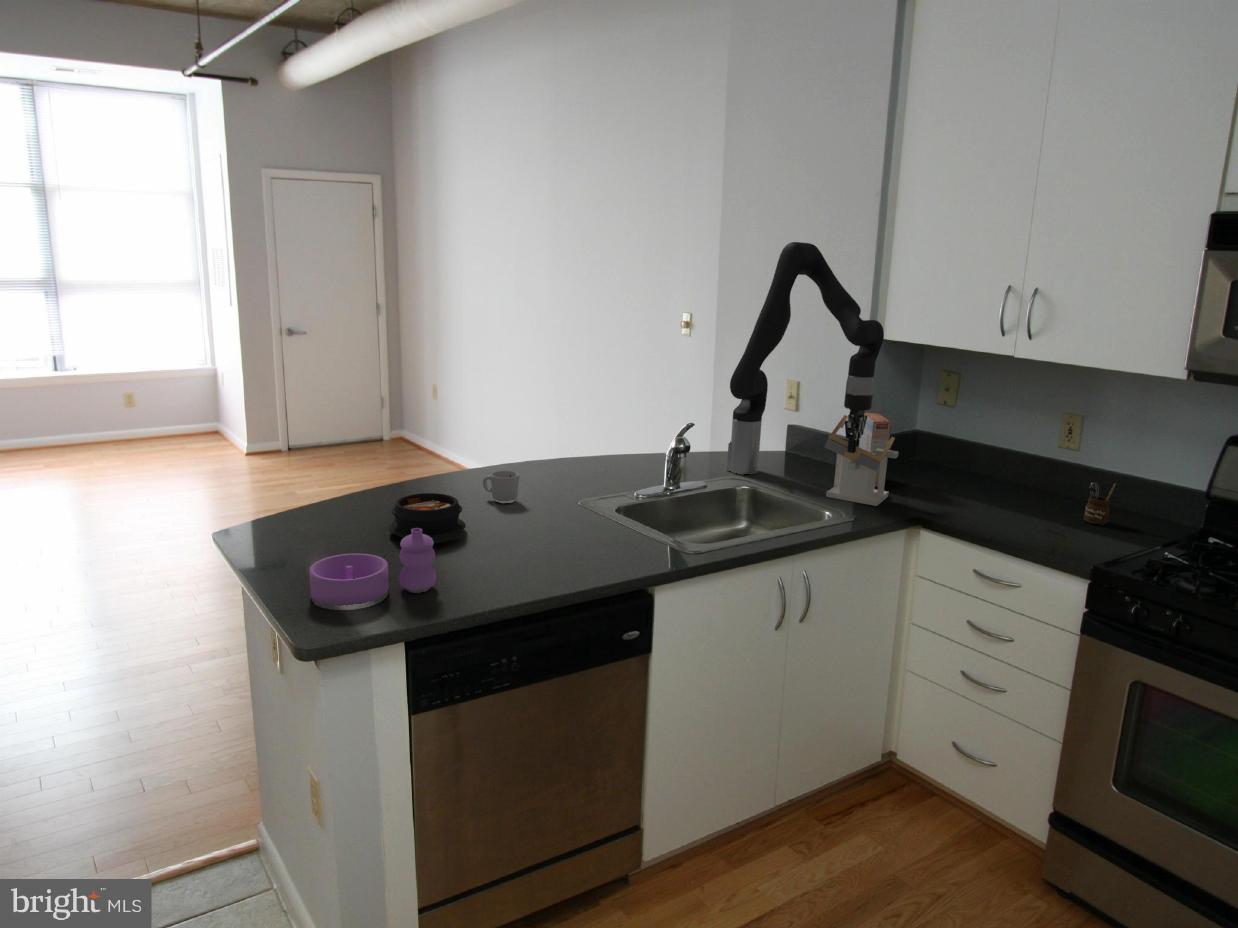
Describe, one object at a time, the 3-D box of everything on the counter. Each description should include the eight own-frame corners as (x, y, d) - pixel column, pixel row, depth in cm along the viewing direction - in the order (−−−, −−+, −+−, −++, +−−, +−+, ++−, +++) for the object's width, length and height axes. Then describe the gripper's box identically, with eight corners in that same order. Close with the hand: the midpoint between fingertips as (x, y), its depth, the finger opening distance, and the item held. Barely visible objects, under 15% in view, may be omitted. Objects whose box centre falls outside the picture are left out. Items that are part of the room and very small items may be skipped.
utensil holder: (1087, 517, 252) (1094, 476, 249) (1111, 523, 247) (1119, 481, 244) (1079, 522, 248) (1087, 480, 244) (1104, 527, 243) (1111, 485, 240)
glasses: (823, 448, 258) (828, 437, 255) (840, 425, 268) (844, 414, 265) (875, 472, 253) (880, 462, 250) (890, 448, 263) (895, 438, 260)
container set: (311, 615, 173) (307, 551, 170) (310, 585, 187) (307, 526, 184) (441, 601, 181) (440, 540, 178) (431, 574, 195) (430, 517, 192)
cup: (476, 502, 247) (476, 474, 245) (490, 494, 254) (490, 467, 252) (510, 507, 243) (510, 479, 241) (524, 500, 250) (524, 472, 248)
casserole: (378, 522, 227) (377, 491, 225) (450, 514, 235) (449, 484, 233) (402, 555, 206) (401, 520, 204) (479, 545, 214) (479, 511, 212)
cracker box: (884, 488, 274) (892, 421, 269) (865, 487, 274) (872, 421, 269) (873, 476, 288) (880, 412, 283) (854, 475, 288) (861, 412, 283)
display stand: (814, 497, 262) (819, 447, 258) (831, 486, 275) (835, 438, 271) (882, 510, 252) (888, 458, 248) (896, 497, 264) (902, 448, 261)
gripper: (853, 387, 258) (847, 445, 262) (838, 393, 246) (832, 454, 251) (879, 390, 254) (872, 449, 258) (865, 396, 243) (858, 458, 247)
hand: (852, 451), depth 255 cm, fingers closed on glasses, 2 cm apart
